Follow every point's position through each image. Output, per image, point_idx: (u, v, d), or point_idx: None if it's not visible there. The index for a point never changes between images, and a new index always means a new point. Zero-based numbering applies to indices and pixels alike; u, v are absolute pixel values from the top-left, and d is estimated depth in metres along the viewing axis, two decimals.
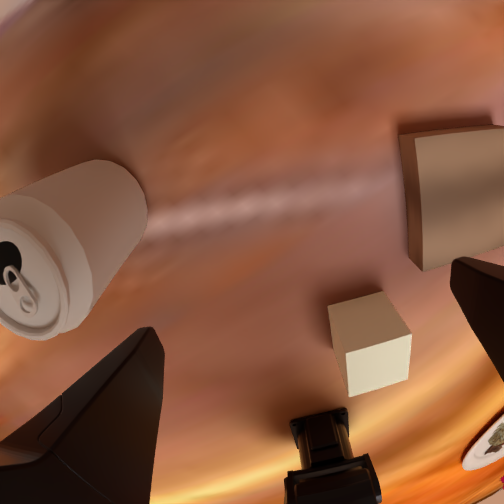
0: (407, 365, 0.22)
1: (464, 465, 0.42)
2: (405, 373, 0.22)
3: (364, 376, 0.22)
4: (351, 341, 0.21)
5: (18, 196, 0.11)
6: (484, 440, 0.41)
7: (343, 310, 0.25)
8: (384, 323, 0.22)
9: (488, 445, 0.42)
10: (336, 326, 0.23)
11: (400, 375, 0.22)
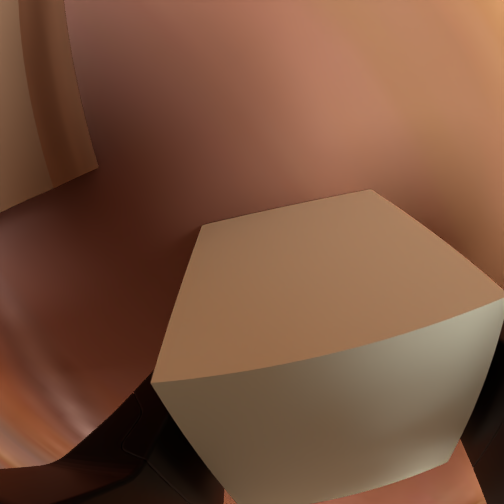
0: (409, 342, 0.04)
1: None
2: (464, 327, 0.04)
3: (371, 470, 0.05)
4: None
5: None
6: None
7: None
8: None
9: None
10: None
11: (463, 346, 0.04)
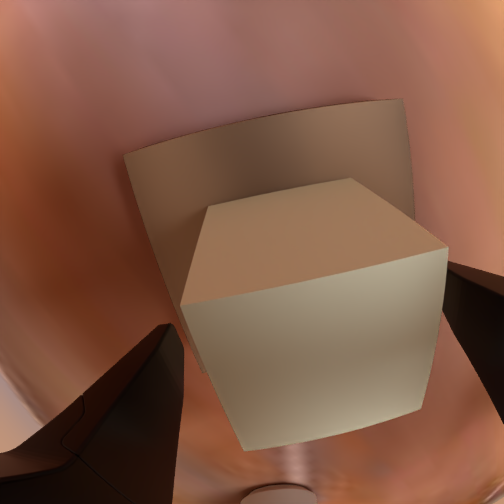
0: (367, 276, 0.05)
1: None
2: (411, 268, 0.05)
3: (351, 404, 0.07)
4: None
5: None
6: None
7: None
8: None
9: None
10: None
11: (413, 285, 0.06)
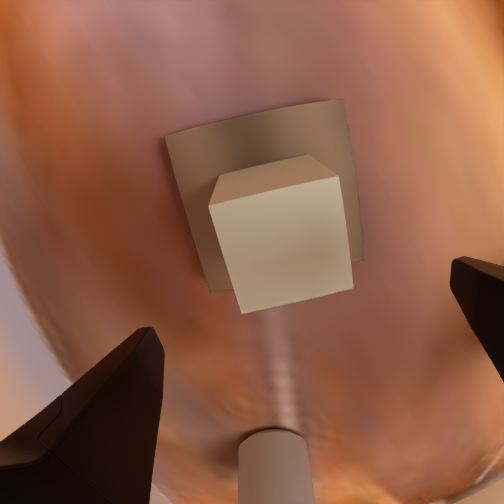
0: (295, 189, 0.12)
1: None
2: (318, 186, 0.12)
3: (302, 274, 0.13)
4: None
5: None
6: None
7: None
8: None
9: None
10: None
11: (322, 196, 0.12)
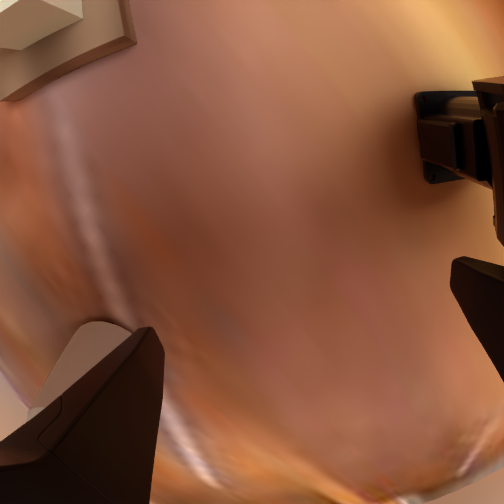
0: None
1: None
2: None
3: None
4: None
5: None
6: None
7: None
8: None
9: None
10: None
11: None
